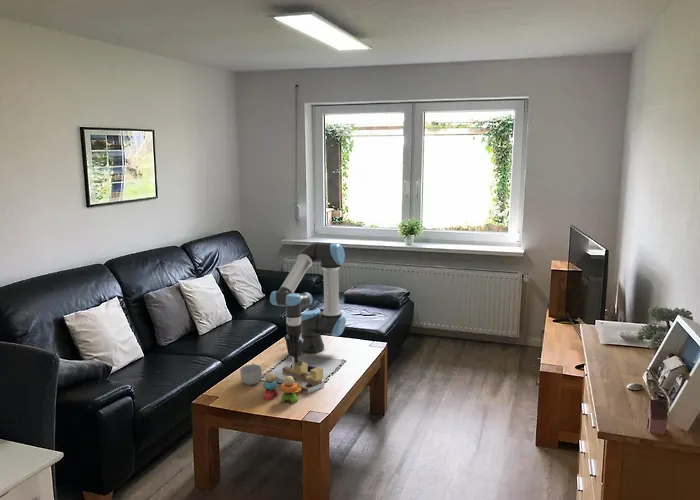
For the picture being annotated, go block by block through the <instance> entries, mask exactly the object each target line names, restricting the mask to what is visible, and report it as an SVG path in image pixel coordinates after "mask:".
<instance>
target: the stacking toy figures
mask: <svg viewBox="0 0 700 500" xmlns="http://www.w3.org/2000/svg"><path fill="white" fill-rule="evenodd" d="M274 374H275V373H274V372H272V371H269V372H266V374H265V376H264V378H265V380H264V382H263V385H262V387H263V389H265V390H264V392H263V395H262V399H263V400H265V401H273V399H274V396H278V395H279V393H278V391H277V389H276V388H277V387H278V382H276V381H275V380H274V379H275V375H274ZM280 391H281V392H283V393H284V394H283V395H282V397H281V399H280V403H284V402H285V401H286V400H287V401H288V402H290V403H291V404H292V405H295V404H297V403H298V402H299V397H298V396H299V395H301V392H302V391H301V387H299V386H297V384H296V383H294V379H293V377H291V376H287V377H286V378H285V379H284V383H283V384H281V385H280Z"/></svg>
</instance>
